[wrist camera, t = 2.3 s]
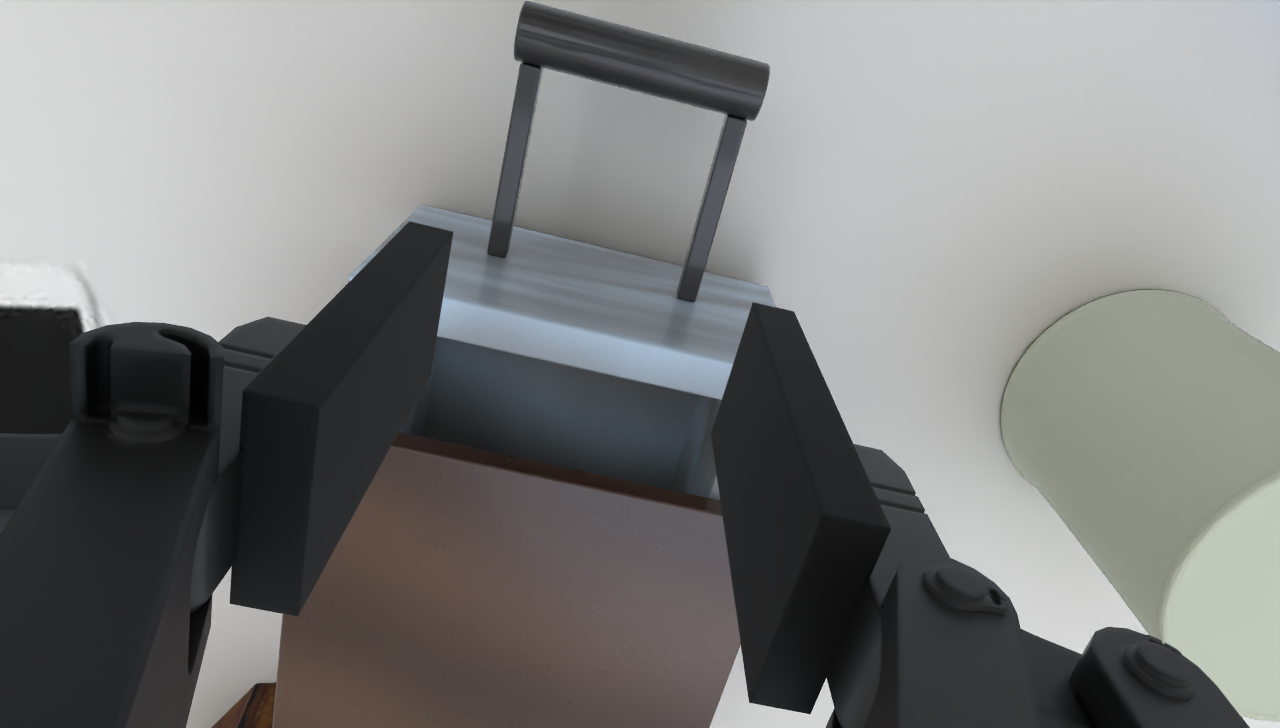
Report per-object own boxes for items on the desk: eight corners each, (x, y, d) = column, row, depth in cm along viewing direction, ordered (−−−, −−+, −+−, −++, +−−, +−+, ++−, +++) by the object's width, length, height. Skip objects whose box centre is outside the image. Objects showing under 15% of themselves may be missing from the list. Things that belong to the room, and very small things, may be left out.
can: (1181, 517, 35) (1422, 758, 24) (966, 483, 35) (1115, 715, 24) (1288, 310, 32) (1629, 486, 21) (1050, 268, 31) (1271, 427, 20)
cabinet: (395, 302, 32) (299, 425, 23) (747, 382, 33) (785, 528, 24) (351, 625, 38) (263, 819, 29) (649, 682, 39) (650, 884, 30)
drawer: (453, -25, 26) (382, -27, 19) (836, 76, 27) (903, 108, 20) (372, 544, 35) (303, 687, 28) (666, 602, 36) (671, 755, 29)
